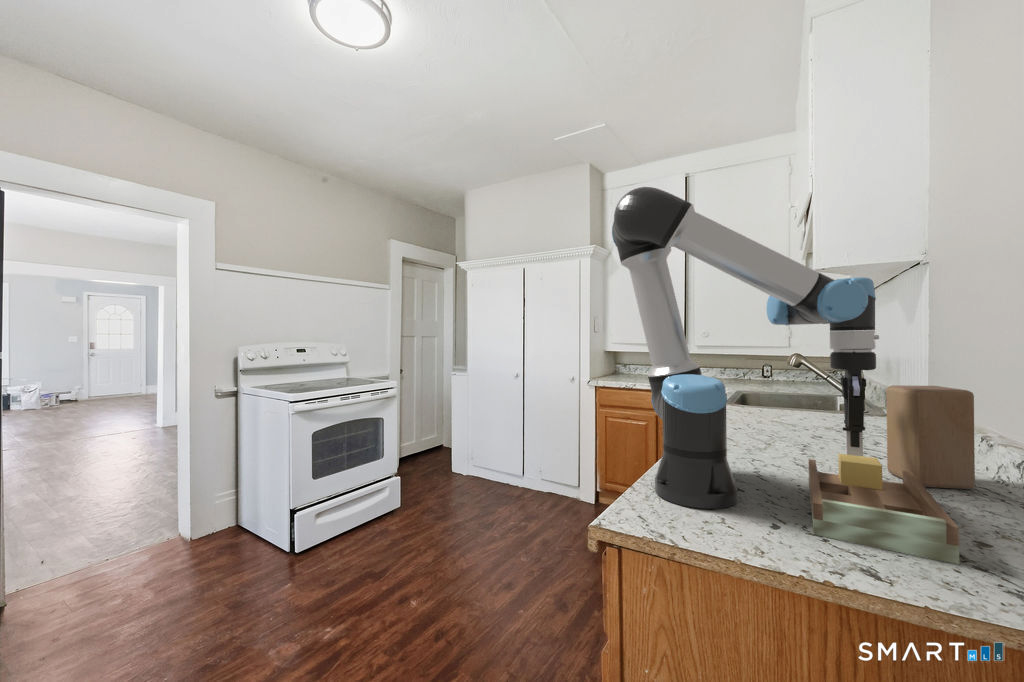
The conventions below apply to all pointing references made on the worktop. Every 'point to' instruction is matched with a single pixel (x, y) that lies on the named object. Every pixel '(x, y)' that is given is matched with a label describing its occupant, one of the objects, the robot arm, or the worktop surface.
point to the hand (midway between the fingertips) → (854, 460)
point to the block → (931, 435)
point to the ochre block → (860, 471)
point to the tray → (883, 516)
